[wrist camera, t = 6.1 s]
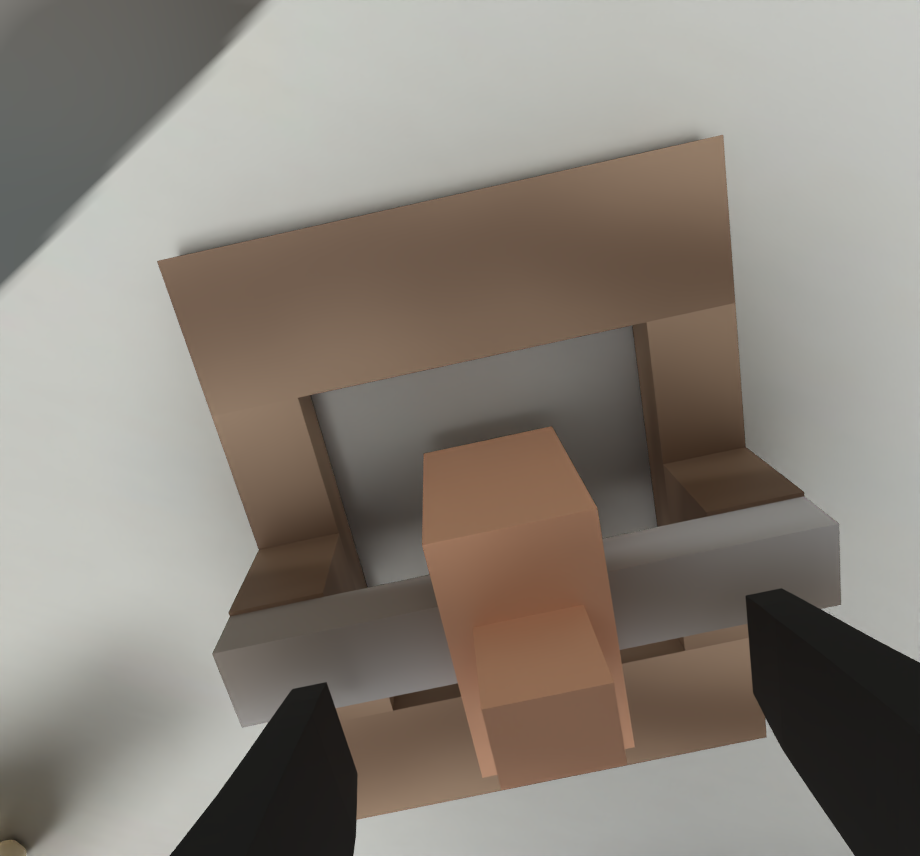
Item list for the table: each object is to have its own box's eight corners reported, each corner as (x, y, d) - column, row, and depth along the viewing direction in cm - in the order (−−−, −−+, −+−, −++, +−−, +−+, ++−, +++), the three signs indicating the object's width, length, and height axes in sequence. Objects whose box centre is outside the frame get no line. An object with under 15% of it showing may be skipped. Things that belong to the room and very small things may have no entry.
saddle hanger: (584, 615, 17) (671, 841, 11) (469, 638, 17) (492, 877, 11) (551, 426, 15) (632, 571, 9) (423, 453, 15) (421, 615, 9)
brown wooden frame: (747, 706, 20) (846, 864, 15) (358, 785, 20) (337, 963, 15) (699, 140, 15) (828, 110, 10) (177, 256, 15) (62, 281, 10)
